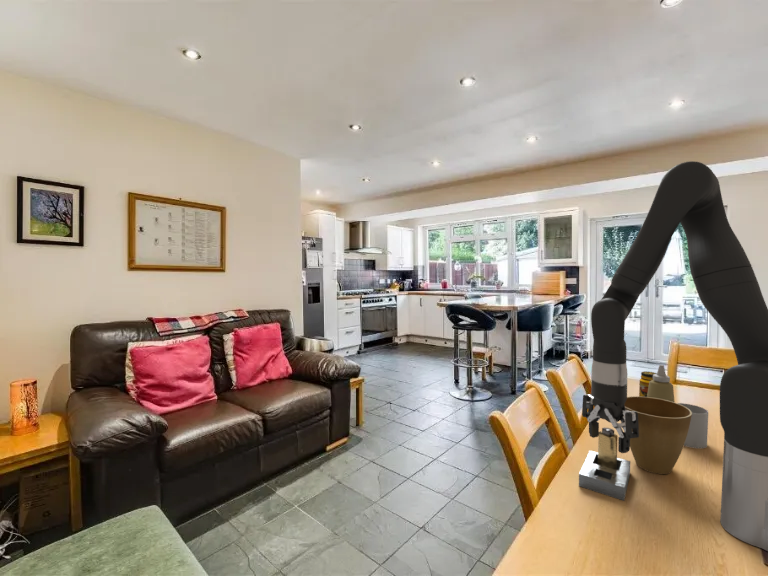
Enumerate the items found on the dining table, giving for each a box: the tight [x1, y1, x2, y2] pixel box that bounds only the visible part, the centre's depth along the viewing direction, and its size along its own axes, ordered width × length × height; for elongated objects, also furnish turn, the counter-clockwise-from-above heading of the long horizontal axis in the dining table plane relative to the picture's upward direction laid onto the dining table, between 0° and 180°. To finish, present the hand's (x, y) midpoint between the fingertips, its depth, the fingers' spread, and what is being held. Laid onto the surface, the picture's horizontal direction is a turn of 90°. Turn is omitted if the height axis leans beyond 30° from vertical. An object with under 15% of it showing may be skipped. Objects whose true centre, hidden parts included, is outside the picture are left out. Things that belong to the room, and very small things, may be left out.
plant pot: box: [624, 395, 692, 475], centre depth 94 cm, size 15×15×16 cm
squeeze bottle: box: [647, 364, 676, 403], centre depth 126 cm, size 8×8×18 cm
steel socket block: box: [578, 450, 631, 501], centre depth 89 cm, size 14×9×3 cm, turn 142°
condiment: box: [638, 371, 657, 397], centre depth 138 cm, size 7×8×12 cm
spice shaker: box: [597, 427, 619, 470], centre depth 91 cm, size 4×4×11 cm
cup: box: [677, 402, 709, 449], centre depth 108 cm, size 8×8×10 cm
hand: (608, 444), depth 91 cm, fingers open, 8 cm apart
